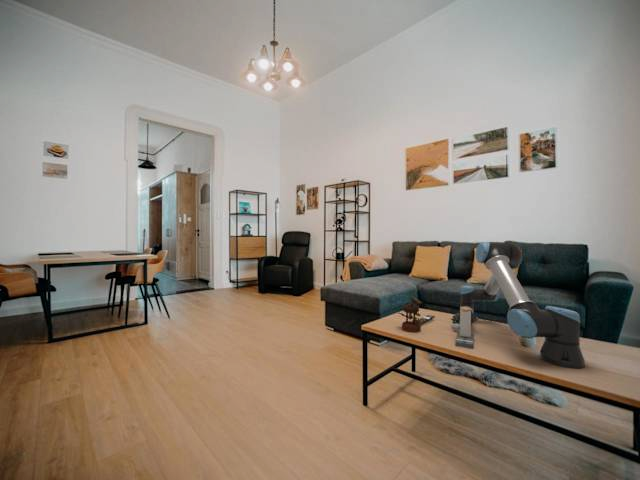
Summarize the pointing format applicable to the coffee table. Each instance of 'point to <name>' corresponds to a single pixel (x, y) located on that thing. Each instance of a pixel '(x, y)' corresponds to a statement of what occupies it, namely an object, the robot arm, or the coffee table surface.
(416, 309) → the music box
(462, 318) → the grey tall cylinder
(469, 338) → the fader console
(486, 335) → the coffee table surface
